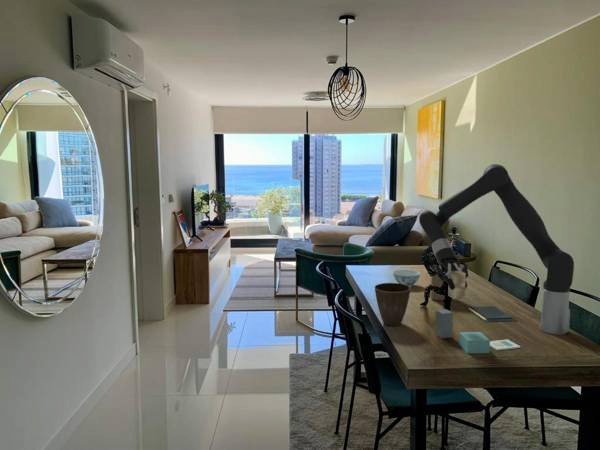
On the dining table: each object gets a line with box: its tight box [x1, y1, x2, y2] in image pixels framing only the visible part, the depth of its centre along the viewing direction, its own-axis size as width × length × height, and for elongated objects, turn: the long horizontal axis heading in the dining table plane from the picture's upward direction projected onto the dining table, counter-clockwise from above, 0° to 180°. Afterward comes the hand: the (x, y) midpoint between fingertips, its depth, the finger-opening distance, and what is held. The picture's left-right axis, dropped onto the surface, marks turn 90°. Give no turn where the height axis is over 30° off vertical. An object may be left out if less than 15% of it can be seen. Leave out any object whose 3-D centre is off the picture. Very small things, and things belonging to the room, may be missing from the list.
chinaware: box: [392, 269, 421, 288], centre depth 247 cm, size 15×15×8 cm
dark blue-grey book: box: [465, 305, 518, 323], centre depth 198 cm, size 20×2×15 cm
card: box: [490, 339, 521, 351], centre depth 163 cm, size 10×7×1 cm
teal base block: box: [458, 331, 491, 354], centre depth 160 cm, size 8×8×5 cm
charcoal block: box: [435, 309, 454, 339], centre depth 172 cm, size 4×4×10 cm
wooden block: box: [430, 275, 444, 302], centre depth 222 cm, size 10×10×20 cm
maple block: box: [448, 270, 466, 300], centre depth 170 cm, size 4×4×10 cm
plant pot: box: [374, 282, 411, 327], centre depth 186 cm, size 15×15×16 cm
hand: (459, 288), depth 168 cm, fingers closed on maple block, 4 cm apart
